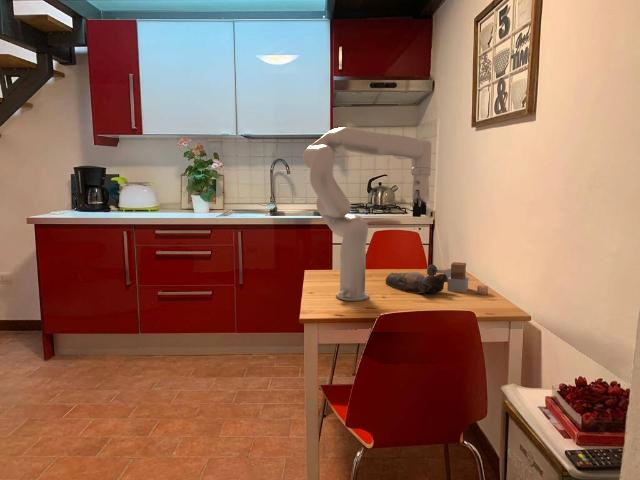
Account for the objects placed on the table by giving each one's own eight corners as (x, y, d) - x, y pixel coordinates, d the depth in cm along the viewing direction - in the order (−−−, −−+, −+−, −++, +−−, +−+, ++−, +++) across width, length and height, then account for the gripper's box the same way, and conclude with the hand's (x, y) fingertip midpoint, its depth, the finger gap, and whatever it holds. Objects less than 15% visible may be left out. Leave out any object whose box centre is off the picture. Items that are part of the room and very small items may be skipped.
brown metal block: (463, 279, 190) (463, 265, 190) (450, 278, 193) (451, 264, 192) (465, 277, 195) (466, 262, 194) (452, 276, 197) (453, 261, 196)
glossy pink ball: (487, 295, 185) (487, 288, 185) (476, 294, 187) (476, 287, 186) (488, 293, 189) (488, 285, 188) (477, 292, 190) (478, 285, 190)
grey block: (465, 292, 190) (465, 280, 189) (447, 290, 193) (447, 278, 192) (467, 288, 196) (468, 277, 195) (450, 287, 199) (451, 275, 198)
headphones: (438, 281, 204) (472, 284, 214) (440, 268, 204) (474, 271, 213) (412, 274, 219) (445, 276, 229) (414, 261, 219) (447, 264, 229)
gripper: (425, 172, 178) (424, 218, 181) (434, 172, 194) (433, 214, 196) (406, 172, 181) (404, 217, 184) (416, 172, 197) (415, 213, 199)
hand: (419, 215), depth 190 cm, fingers open, 9 cm apart
